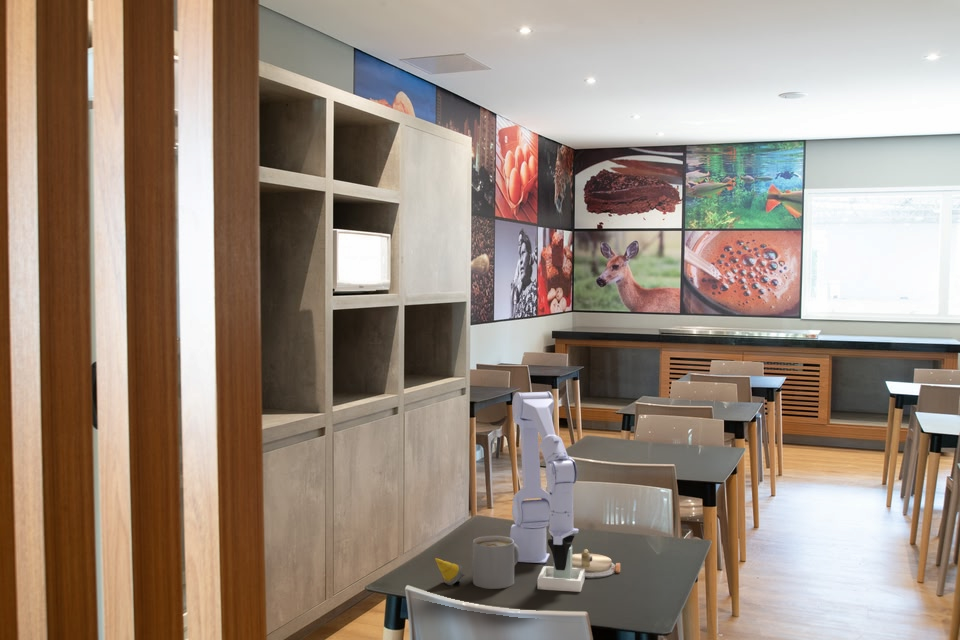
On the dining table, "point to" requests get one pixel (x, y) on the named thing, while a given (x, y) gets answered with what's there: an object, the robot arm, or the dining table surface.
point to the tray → (561, 580)
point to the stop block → (568, 569)
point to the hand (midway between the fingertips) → (561, 567)
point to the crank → (591, 562)
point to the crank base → (604, 572)
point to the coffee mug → (494, 561)
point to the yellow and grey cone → (450, 571)
